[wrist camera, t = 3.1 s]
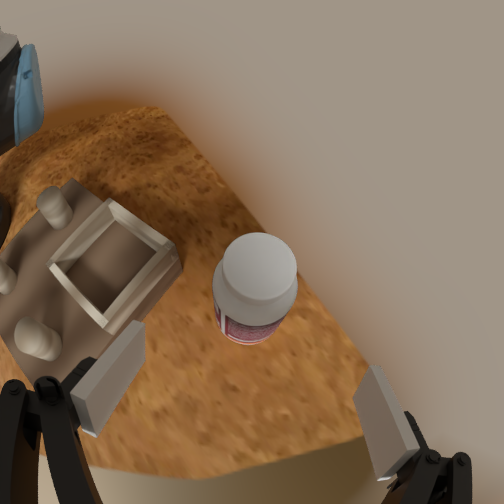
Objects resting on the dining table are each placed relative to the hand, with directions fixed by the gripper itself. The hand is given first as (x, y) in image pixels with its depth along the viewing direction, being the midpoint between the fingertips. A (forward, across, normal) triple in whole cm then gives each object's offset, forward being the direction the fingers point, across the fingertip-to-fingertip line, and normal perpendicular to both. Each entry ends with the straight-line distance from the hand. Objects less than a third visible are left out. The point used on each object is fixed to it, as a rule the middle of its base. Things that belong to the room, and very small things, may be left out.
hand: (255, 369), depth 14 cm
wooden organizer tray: (+10, -21, -5) cm, 24 cm away
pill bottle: (+12, -1, -3) cm, 12 cm away
